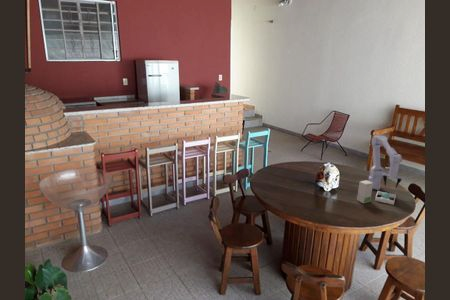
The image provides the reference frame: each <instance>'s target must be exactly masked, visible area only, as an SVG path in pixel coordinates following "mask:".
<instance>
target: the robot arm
mask: <svg viewBox="0 0 450 300" xmlns="http://www.w3.org/2000/svg"><path fill="white" fill-rule="evenodd" d="M371 146H372V160H373V161H372V162H373V163H372V164H373V165H372V167H371V168H370V170H369V176H368V179H367V181H370V182H373V187H372V190H377V191H380V190H381V180H382V179H383V182H384V186H386V185H387V180H388V178H392V179H397V181H396V185H395V188H396V189H397V187H398V186H399V185H400V183H401V181H403V180H404V176H401V175H398V172H399V167H400V163H401V162H402V161H403V156H402V154H399V153H398V152H397V151H396V150H395V148H394V147H391V145H390V144H389V142H388V137H387V136H386V135H373V136H372V138H371ZM381 147H384V149H385V150H386V151H385V153H386V154H387V155H388V157H389V161H390V162H389V164H390V165H389V169H388V170H389V171H388V173H385V171H384V167H382V166H381V149H380V148H381Z"/></svg>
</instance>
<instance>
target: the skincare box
mask: <svg viewBox="0 0 450 300" xmlns="http://www.w3.org/2000/svg"><path fill="white" fill-rule="evenodd" d="M372 187H373V182H370V181H368V179H366V180H361V181H359V184H358V191H357V196H356V201H357V202H358V203H362V204H366V203H369V202H371V199H372V192H373V189H372Z"/></svg>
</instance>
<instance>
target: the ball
mask: <svg viewBox="0 0 450 300" xmlns="http://www.w3.org/2000/svg"><path fill="white" fill-rule="evenodd" d="M388 193H389V192H385V193H383V194H382V195H381V197H383V198H384V199H388V198H389V199H390V197H389V194H388Z"/></svg>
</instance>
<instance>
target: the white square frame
mask: <svg viewBox="0 0 450 300" xmlns="http://www.w3.org/2000/svg"><path fill="white" fill-rule="evenodd" d="M383 193H386V191H385V192H384V191H382V190H381V191H380V190H377V192H376V195H375V196H374V197H375V198H374V201H375V202H380V203H383V204H384V203H385V204H389V205H393V206H394V205H395V200H396V194H394V193H389V192H387V193H388V194H389V198H391V199H390V200H388V199H384V198H380V197H378V196H382V194H383ZM392 199H393V200H392Z"/></svg>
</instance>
